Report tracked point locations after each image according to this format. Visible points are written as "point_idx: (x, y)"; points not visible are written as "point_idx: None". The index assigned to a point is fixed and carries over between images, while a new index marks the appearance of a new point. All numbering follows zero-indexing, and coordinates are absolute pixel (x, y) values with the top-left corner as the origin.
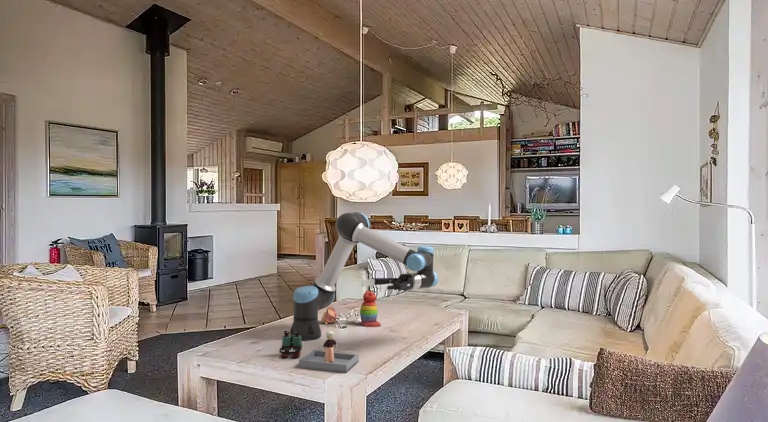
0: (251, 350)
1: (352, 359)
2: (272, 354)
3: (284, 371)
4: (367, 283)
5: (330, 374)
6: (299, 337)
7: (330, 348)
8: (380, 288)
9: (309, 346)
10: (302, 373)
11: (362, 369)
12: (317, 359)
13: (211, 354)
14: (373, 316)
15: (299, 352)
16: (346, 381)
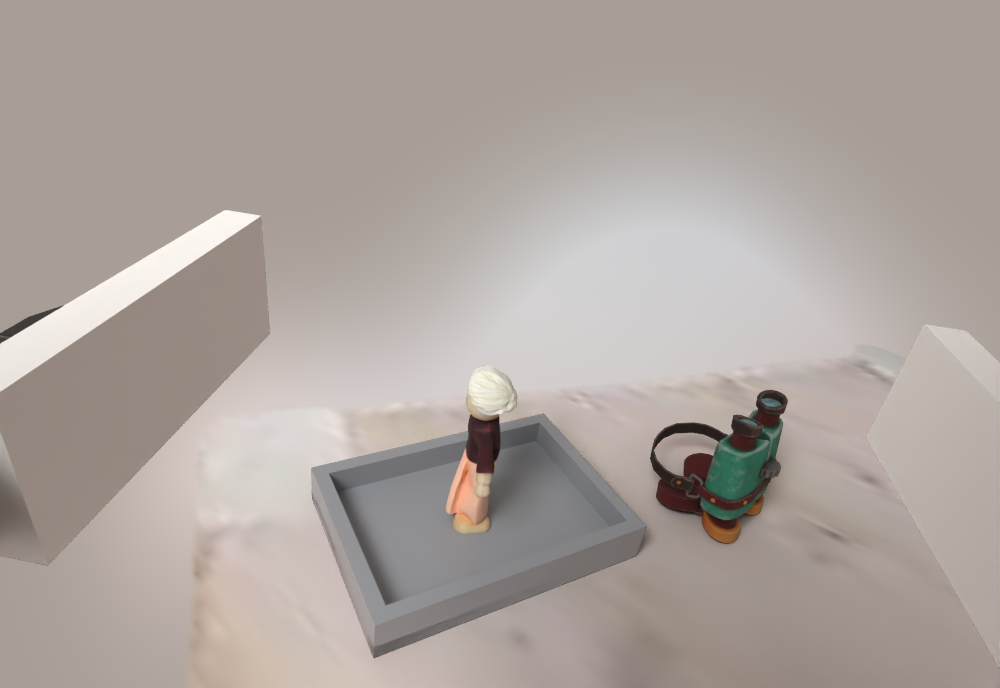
0: (875, 461)
1: (344, 538)
2: None
3: (535, 397)
4: (952, 479)
5: (365, 454)
6: (718, 443)
7: (465, 448)
8: (255, 283)
9: (868, 672)
10: (467, 413)
11: (265, 576)
12: (552, 509)
13: (860, 379)
14: None
15: (708, 519)
16: (247, 440)
